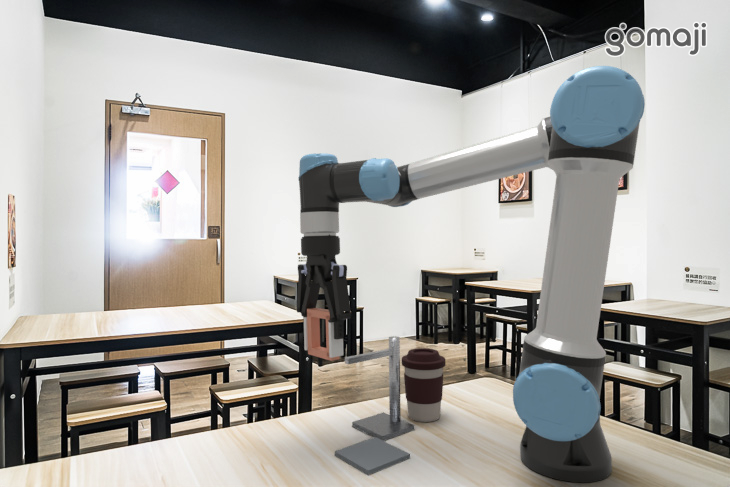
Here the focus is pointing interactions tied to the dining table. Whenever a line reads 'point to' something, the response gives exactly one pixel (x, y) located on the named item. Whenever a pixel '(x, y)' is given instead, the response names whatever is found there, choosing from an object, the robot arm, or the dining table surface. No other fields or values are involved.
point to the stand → (384, 423)
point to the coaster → (372, 455)
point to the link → (318, 333)
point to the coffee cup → (423, 383)
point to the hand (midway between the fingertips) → (323, 352)
